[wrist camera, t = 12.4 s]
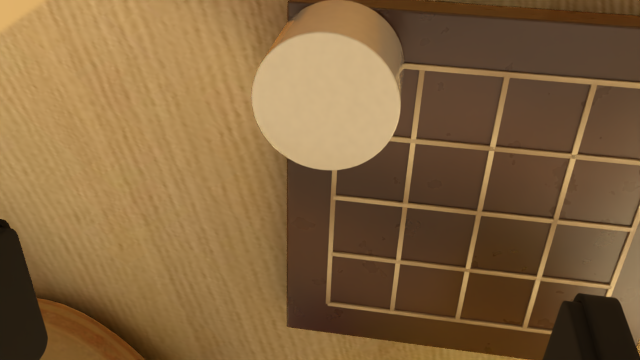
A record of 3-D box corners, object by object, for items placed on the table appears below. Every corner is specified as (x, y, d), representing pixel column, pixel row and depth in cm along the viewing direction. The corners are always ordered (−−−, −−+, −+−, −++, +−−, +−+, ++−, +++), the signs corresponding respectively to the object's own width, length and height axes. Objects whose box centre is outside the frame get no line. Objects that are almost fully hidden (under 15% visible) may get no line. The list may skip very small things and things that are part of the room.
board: (294, -10, 23) (286, 2, 21) (750, 23, 21) (772, 38, 20) (292, 306, 31) (285, 329, 30) (617, 348, 29) (626, 375, 28)
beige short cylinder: (273, -6, 21) (248, 26, 18) (411, 4, 21) (408, 38, 18) (275, 118, 24) (252, 163, 21) (397, 129, 23) (393, 177, 20)
